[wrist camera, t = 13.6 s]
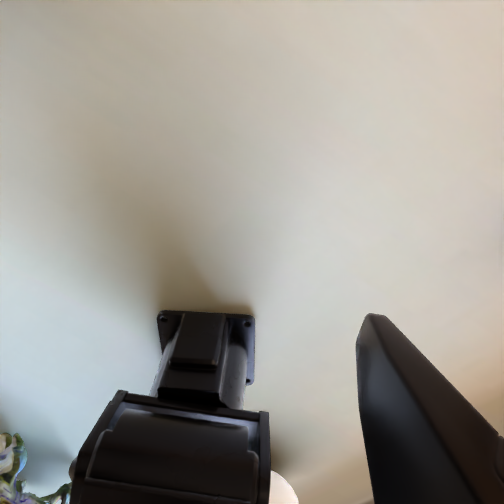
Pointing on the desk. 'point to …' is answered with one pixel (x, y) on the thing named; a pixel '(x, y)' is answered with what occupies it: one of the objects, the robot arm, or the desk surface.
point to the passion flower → (7, 467)
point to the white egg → (281, 491)
